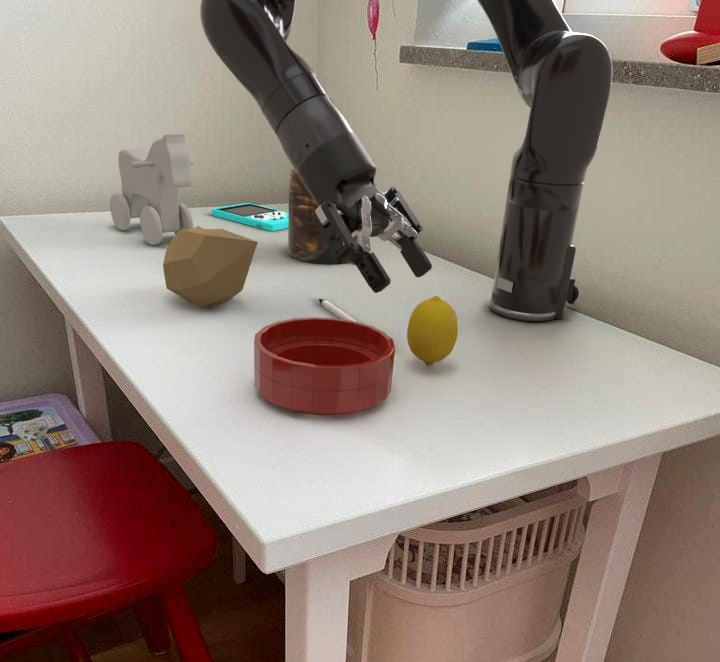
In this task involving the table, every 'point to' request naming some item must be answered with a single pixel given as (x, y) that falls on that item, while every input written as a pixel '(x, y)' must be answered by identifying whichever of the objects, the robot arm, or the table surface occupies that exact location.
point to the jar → (305, 226)
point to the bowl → (323, 365)
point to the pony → (154, 188)
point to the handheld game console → (254, 216)
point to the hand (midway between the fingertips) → (405, 280)
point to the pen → (335, 310)
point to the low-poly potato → (207, 265)
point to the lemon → (432, 330)
